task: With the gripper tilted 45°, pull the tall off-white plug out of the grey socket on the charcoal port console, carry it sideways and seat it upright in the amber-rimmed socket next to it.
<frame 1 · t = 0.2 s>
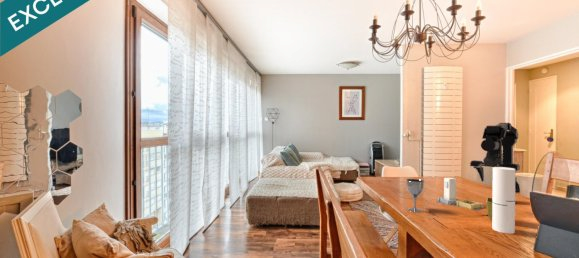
hand: (493, 182, 132), 14 cm above the table, tool pointing down, fingers open, 9 cm apart
cylindrical container: (503, 230, 108), on the table
plug: (449, 202, 145), point 1 cm above the table, touching port console
port console: (459, 205, 142), on the table
wine glass: (414, 210, 134), on the table
flower pot: (498, 221, 119), on the table
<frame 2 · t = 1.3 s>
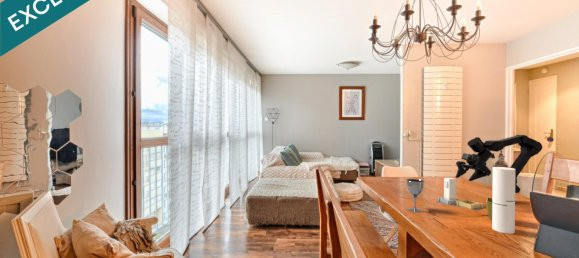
hand: (462, 179, 146), 13 cm above the table, tool tilted 45°, fingers open, 9 cm apart
nothing on the table moved.
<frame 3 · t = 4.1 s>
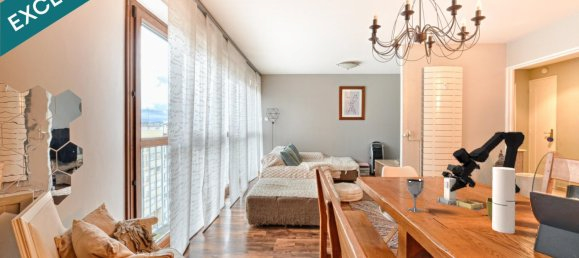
hand: (447, 190, 145), 8 cm above the table, tool tilted 45°, fingers closed on plug, 4 cm apart
plug: (449, 202, 145), point 1 cm above the table, touching gripper, port console
everything else where it was.
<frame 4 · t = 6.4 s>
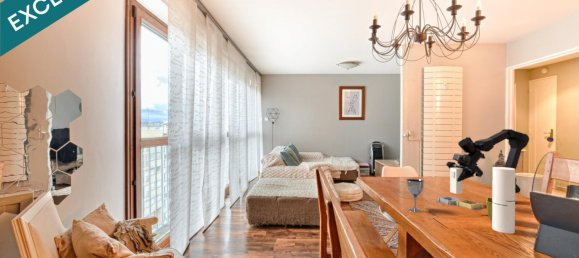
hand: (454, 180, 142), 13 cm above the table, tool tilted 45°, fingers closed on plug, 4 cm apart
plug: (456, 192, 142), point 7 cm above the table, touching gripper
everything else where it was.
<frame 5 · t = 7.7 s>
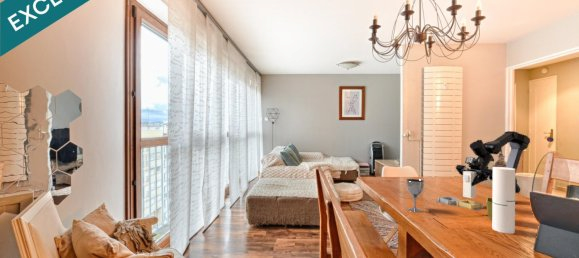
hand: (467, 184, 137), 12 cm above the table, tool tilted 45°, fingers closed on plug, 4 cm apart
plug: (469, 197, 138), point 6 cm above the table, touching gripper
everything else where it was.
when the fingers open (9 cm above the table, at t = 8.7 s): plug stays where it is, resting on port console.
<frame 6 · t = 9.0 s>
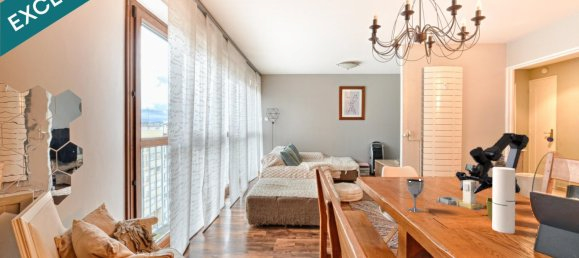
hand: (467, 191, 137), 9 cm above the table, tool tilted 45°, fingers open, 7 cm apart
plug: (469, 206, 138), point 1 cm above the table, touching port console
everything else where it was.
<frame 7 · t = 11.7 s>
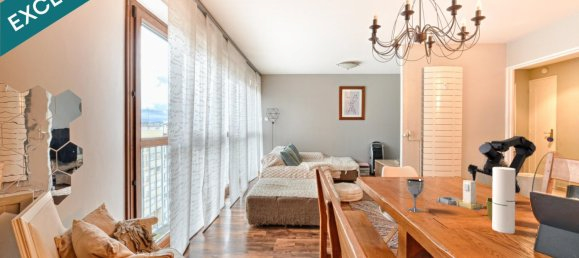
hand: (483, 188, 141), 10 cm above the table, tool tilted 30°, fingers open, 9 cm apart
nothing on the table moved.
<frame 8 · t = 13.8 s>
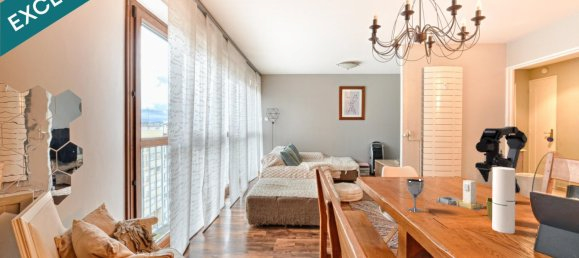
hand: (492, 181, 142), 13 cm above the table, tool pointing down, fingers open, 9 cm apart
nothing on the table moved.
at the end: plug 0.0 cm from the target spot, point 1.0 cm above the table; plug tilted 0°; the gripper is holding nothing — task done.
